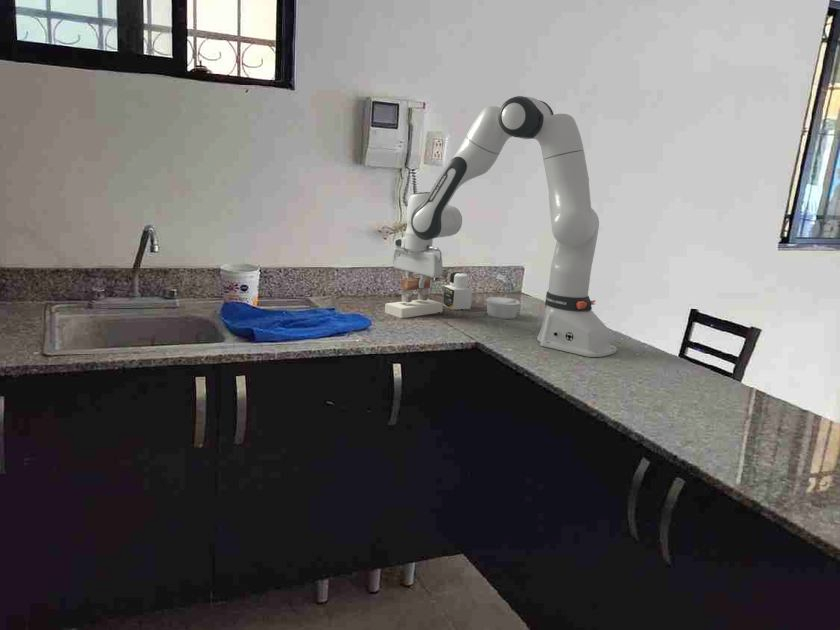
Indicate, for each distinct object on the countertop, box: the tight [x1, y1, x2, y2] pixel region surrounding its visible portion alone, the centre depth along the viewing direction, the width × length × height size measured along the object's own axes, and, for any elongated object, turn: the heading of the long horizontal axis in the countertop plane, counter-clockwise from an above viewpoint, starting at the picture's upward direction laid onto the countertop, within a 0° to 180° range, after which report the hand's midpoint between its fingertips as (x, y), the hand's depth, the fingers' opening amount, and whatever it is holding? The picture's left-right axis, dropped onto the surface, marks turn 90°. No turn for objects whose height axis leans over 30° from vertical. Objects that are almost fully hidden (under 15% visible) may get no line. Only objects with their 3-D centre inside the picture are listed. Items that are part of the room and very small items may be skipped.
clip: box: [400, 277, 431, 303], centre depth 214 cm, size 3×10×7 cm, turn 133°
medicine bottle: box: [442, 271, 473, 311], centre depth 227 cm, size 7×7×12 cm
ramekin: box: [486, 296, 521, 320], centre depth 220 cm, size 11×11×5 cm
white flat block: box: [384, 298, 444, 319], centre depth 216 cm, size 8×18×3 cm, turn 133°
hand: (415, 286), depth 214 cm, fingers closed on clip, 3 cm apart
